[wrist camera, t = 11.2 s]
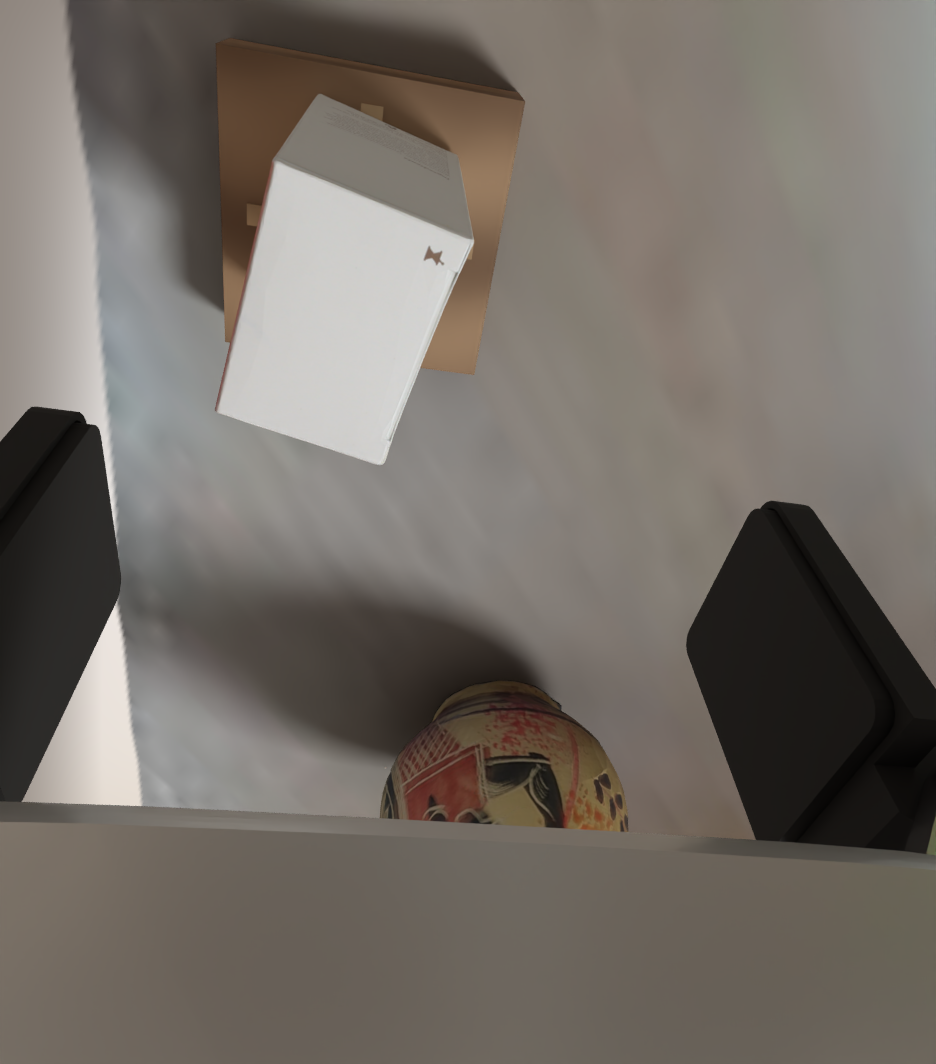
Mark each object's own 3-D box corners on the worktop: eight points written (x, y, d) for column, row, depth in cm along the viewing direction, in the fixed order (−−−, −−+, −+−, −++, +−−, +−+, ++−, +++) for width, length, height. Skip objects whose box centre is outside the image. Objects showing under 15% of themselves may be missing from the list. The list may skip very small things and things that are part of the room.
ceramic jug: (565, 614, 47) (714, 1287, 23) (623, 750, 56) (774, 1334, 32) (324, 689, 50) (236, 1349, 26) (416, 806, 59) (413, 1376, 35)
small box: (318, 89, 26) (271, 146, 18) (462, 154, 28) (480, 235, 20) (265, 294, 31) (207, 416, 23) (392, 341, 32) (382, 472, 24)
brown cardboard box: (229, 37, 28) (215, 43, 26) (518, 92, 29) (525, 101, 27) (236, 320, 34) (224, 342, 32) (471, 352, 36) (474, 375, 34)
